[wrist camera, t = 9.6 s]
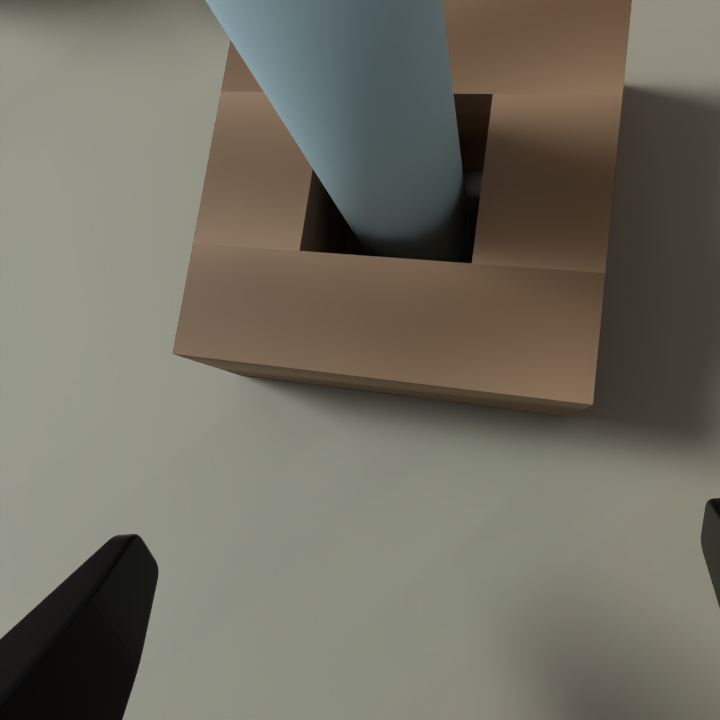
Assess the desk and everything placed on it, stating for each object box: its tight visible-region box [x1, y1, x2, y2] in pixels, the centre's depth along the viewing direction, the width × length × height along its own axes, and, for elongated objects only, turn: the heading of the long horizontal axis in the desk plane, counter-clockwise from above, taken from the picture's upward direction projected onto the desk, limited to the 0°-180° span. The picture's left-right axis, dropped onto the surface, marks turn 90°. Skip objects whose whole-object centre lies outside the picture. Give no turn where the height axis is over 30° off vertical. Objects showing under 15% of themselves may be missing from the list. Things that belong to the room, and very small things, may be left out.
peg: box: [205, 0, 469, 262], centre depth 13 cm, size 3×3×12 cm
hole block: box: [173, 0, 632, 417], centre depth 17 cm, size 10×10×4 cm
